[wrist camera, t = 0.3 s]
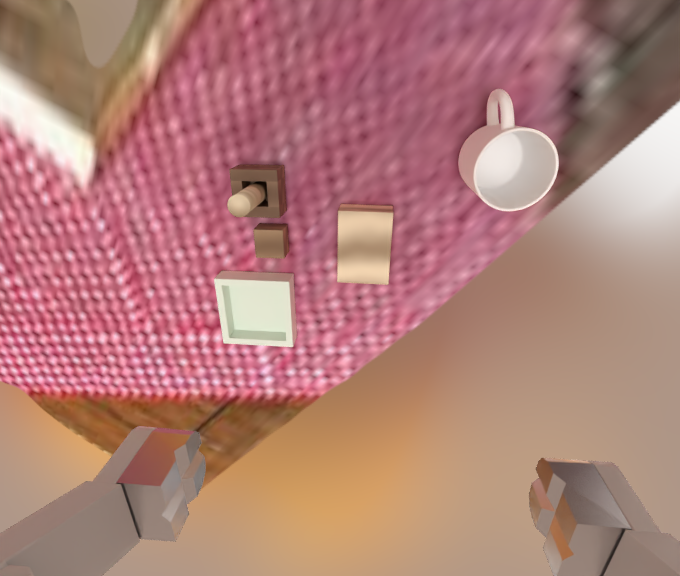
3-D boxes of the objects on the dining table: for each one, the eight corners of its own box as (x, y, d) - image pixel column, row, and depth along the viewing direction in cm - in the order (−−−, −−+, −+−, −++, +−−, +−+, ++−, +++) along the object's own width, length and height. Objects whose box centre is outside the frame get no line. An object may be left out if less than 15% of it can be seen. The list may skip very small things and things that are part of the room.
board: (341, 203, 54) (338, 210, 50) (392, 205, 53) (393, 212, 50) (340, 270, 58) (337, 282, 55) (387, 273, 58) (388, 284, 54)
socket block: (239, 164, 53) (229, 169, 49) (283, 165, 52) (276, 170, 49) (244, 209, 55) (234, 216, 52) (286, 210, 55) (279, 217, 51)
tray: (221, 270, 60) (214, 278, 57) (293, 273, 59) (289, 281, 56) (230, 332, 64) (223, 343, 62) (296, 336, 63) (292, 347, 61)
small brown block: (259, 223, 56) (253, 229, 53) (287, 224, 56) (282, 230, 53) (262, 250, 58) (256, 257, 55) (288, 251, 57) (284, 258, 55)
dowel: (252, 179, 53) (226, 194, 44) (271, 179, 53) (248, 195, 44) (254, 197, 54) (228, 216, 45) (272, 198, 54) (250, 217, 45)
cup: (460, 197, 52) (477, 218, 43) (449, 99, 47) (466, 98, 38) (527, 184, 50) (559, 202, 41) (522, 81, 45) (558, 75, 36)
